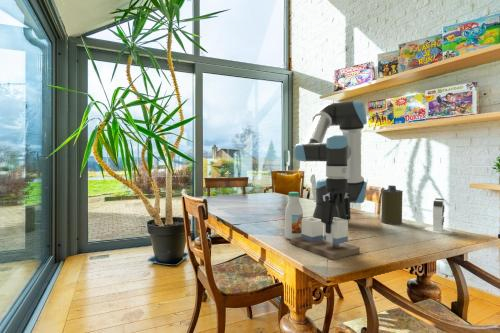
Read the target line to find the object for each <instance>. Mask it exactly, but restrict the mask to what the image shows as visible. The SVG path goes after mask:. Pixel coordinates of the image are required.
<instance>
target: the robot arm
mask: <svg viewBox="0 0 500 333" xmlns="http://www.w3.org/2000/svg"><path fill="white" fill-rule="evenodd" d="M367 123H368V121H367V111H366V105H365V103H364V102H363V100H351V101H350V100H349V101H341V102H331V103H327V104H325V105H324V106H322V107H321V108H319V109H318V110H317V111H316V112H315V113H314V114H313V117H312V123H311V126H310V128H309V130H308V132H307V135H306V137H305V139H304V140H303V143H302V142H301V143H297V144H295V146H294V149H293V150H294V152H293V153H294V158H295V160H296V161H297V162H325V177H327V178H324V179H322V178H321V179H318V180H317V181H316V185H315V209H314V211H313V214H312V218H317V219H321V222H323V224H324V223H325V224H326V241H327V242H331V243H333V235H334V225H333V224H332V221H333V217H337V218H341V219H346V220H348V223H349V222H350V220H351V218H352V217H351V204H363V203H364V202H365V199H366V192H367V186H368V182H367V181H365V178H364V177H363V176H362V159H361V158H362V156H361V155H362V154H361V152H362V151H361V150H362V149H361V148H362V147H361V146H362V145H361V144H362V142H361V138H362V137H361V132H362V130H363V129H364V126H365V125H367ZM331 126H333V127H334V126H336V127H337V126H338V127H339V130H340V131H341V133H342V135H328V136H327V137H326V142H323V141H324V138H325V136H326V133H327V131H328V129H329V128H330V127H331ZM324 219H325V220H324Z"/></svg>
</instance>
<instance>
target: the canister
mask: <svg viewBox="0 0 500 333" xmlns="http://www.w3.org/2000/svg"><path fill="white" fill-rule="evenodd" d="M387 186H388V187H387V189H381V191H380V192H381V207H380V208H381V210H380V211H381V212H380V213H381V214H380V215H381V219H380V223H382V224H386V225H392V226H398V225H403V192H404V191H403V190H400V189H397V187H396V185H387Z"/></svg>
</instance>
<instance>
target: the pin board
mask: <svg viewBox="0 0 500 333" xmlns="http://www.w3.org/2000/svg"><path fill="white" fill-rule="evenodd" d="M290 244H291V245H293V246H295V247H298V248H301V249H304V250H307V251H309V252H311V253H314V254H316V255H320V256H322V257H325V258H326V259H330V260H331V261H337V260H339V259H342V258H346V257H349V256H353V255H357V254H359V253H361V252H360V251H361V250H360V248H361V247H360V246H356V245H353V244H350V243H347V242H344V243H340V244H334V243H331V242H327V241H325V240H324V235H323V240H320V241H316V242H310V241H307V240H304V239H302V237H298V238H293V239H290Z"/></svg>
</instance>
